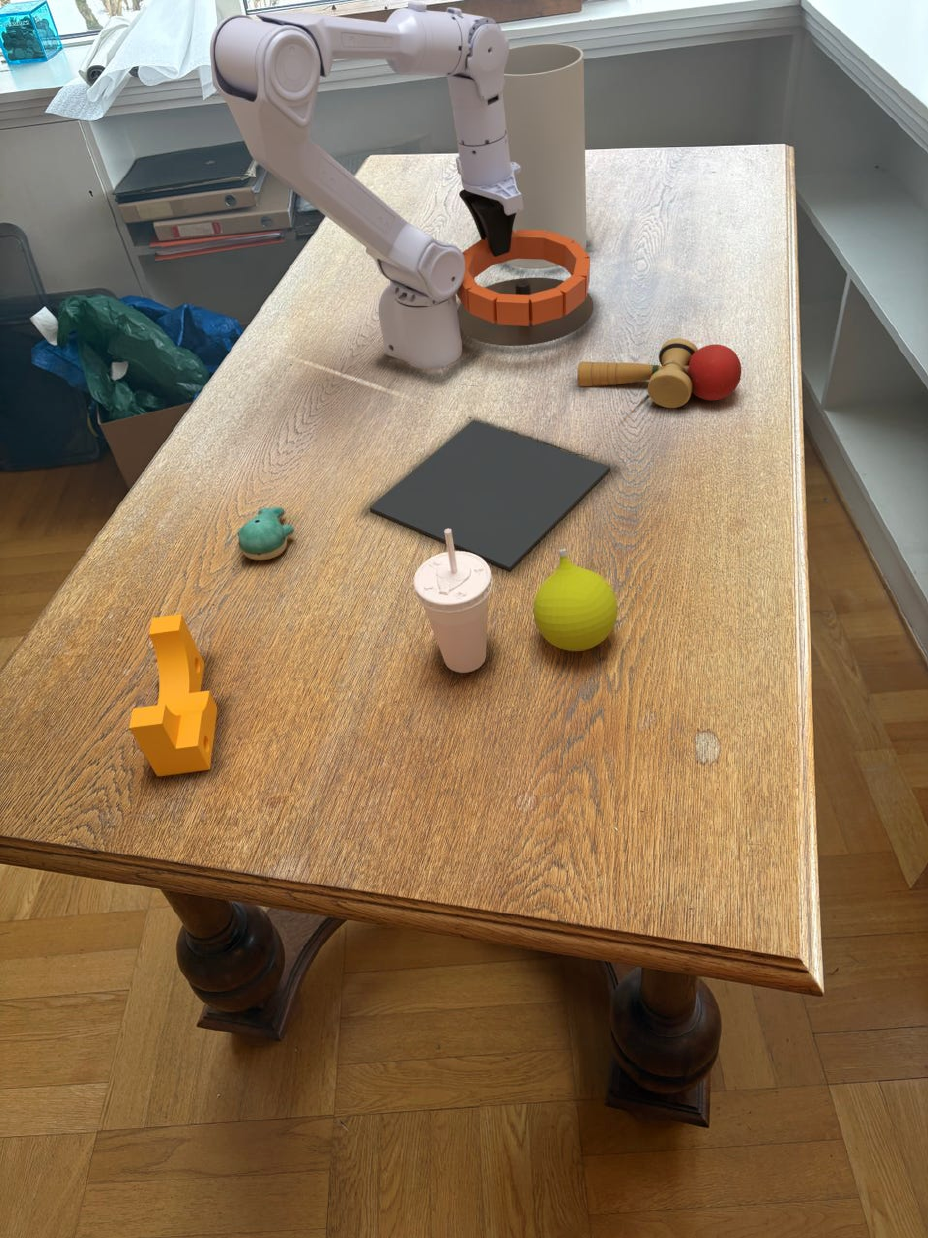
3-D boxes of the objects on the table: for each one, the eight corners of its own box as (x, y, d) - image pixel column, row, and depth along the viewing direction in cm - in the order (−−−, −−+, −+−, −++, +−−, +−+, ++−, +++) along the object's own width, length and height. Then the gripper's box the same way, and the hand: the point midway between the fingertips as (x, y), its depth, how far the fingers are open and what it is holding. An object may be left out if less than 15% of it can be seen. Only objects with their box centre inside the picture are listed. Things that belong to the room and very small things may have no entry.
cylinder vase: (601, 240, 137) (600, 45, 119) (560, 279, 130) (553, 78, 112) (526, 228, 142) (515, 40, 125) (483, 265, 135) (464, 71, 118)
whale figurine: (233, 566, 95) (222, 537, 92) (249, 519, 100) (239, 490, 97) (290, 564, 94) (280, 535, 92) (303, 516, 99) (294, 487, 97)
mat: (370, 511, 99) (369, 507, 99) (473, 423, 108) (473, 419, 108) (510, 571, 90) (509, 567, 90) (610, 470, 99) (610, 466, 99)
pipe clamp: (209, 769, 77) (184, 720, 73) (157, 776, 78) (129, 728, 73) (223, 661, 86) (201, 611, 81) (176, 667, 86) (151, 618, 81)
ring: (431, 297, 114) (429, 274, 112) (513, 239, 121) (512, 217, 119) (534, 341, 107) (533, 317, 105) (614, 277, 114) (615, 254, 112)
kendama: (575, 417, 109) (737, 411, 102) (568, 363, 105) (735, 354, 99) (591, 391, 115) (745, 384, 108) (585, 340, 111) (744, 329, 104)
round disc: (428, 331, 124) (423, 299, 121) (508, 272, 133) (506, 241, 130) (542, 364, 115) (541, 330, 112) (620, 299, 124) (620, 266, 121)
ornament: (558, 600, 87) (553, 515, 80) (630, 623, 84) (632, 537, 77) (521, 652, 83) (513, 568, 76) (596, 678, 80) (594, 593, 73)
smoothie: (510, 637, 84) (497, 514, 74) (488, 691, 80) (471, 569, 70) (443, 625, 86) (421, 504, 76) (418, 677, 82) (391, 557, 72)
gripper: (542, 144, 103) (552, 261, 113) (487, 106, 113) (501, 217, 123) (483, 164, 102) (499, 281, 112) (433, 124, 111) (452, 235, 121)
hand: (497, 249), depth 117 cm, fingers closed on ring, 2 cm apart
